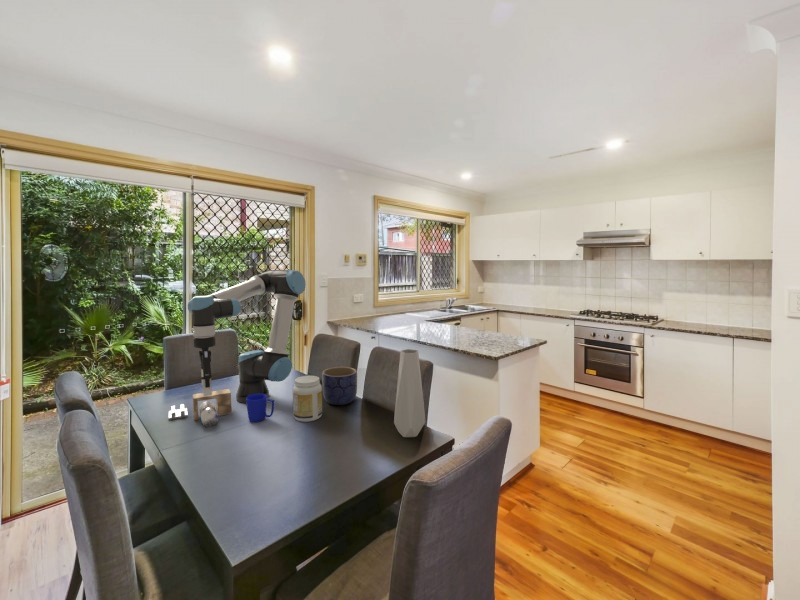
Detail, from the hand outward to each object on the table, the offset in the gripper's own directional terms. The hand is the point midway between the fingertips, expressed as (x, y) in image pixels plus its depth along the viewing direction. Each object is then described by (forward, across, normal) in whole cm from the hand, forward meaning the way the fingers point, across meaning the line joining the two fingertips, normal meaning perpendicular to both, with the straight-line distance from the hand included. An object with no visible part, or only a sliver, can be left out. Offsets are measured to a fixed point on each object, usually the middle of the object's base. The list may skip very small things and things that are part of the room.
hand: (206, 390), depth 146 cm
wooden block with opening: (+17, -18, +3) cm, 25 cm away
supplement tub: (+17, +5, +38) cm, 42 cm away
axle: (+14, -13, +1) cm, 19 cm away
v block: (+17, -25, -10) cm, 32 cm away
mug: (+17, -2, +20) cm, 27 cm away
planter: (+17, -6, +57) cm, 60 cm away
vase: (+17, +40, +67) cm, 80 cm away
